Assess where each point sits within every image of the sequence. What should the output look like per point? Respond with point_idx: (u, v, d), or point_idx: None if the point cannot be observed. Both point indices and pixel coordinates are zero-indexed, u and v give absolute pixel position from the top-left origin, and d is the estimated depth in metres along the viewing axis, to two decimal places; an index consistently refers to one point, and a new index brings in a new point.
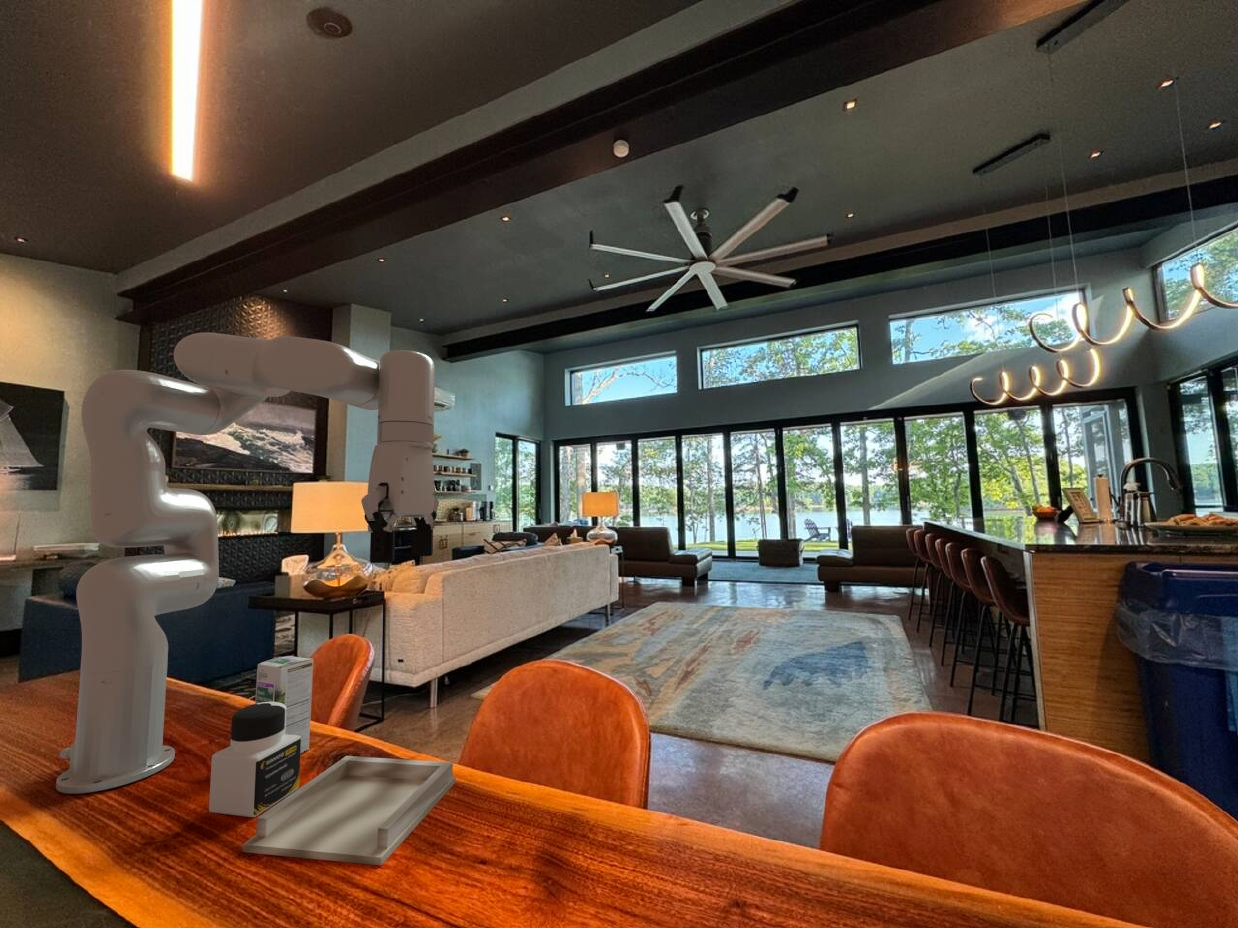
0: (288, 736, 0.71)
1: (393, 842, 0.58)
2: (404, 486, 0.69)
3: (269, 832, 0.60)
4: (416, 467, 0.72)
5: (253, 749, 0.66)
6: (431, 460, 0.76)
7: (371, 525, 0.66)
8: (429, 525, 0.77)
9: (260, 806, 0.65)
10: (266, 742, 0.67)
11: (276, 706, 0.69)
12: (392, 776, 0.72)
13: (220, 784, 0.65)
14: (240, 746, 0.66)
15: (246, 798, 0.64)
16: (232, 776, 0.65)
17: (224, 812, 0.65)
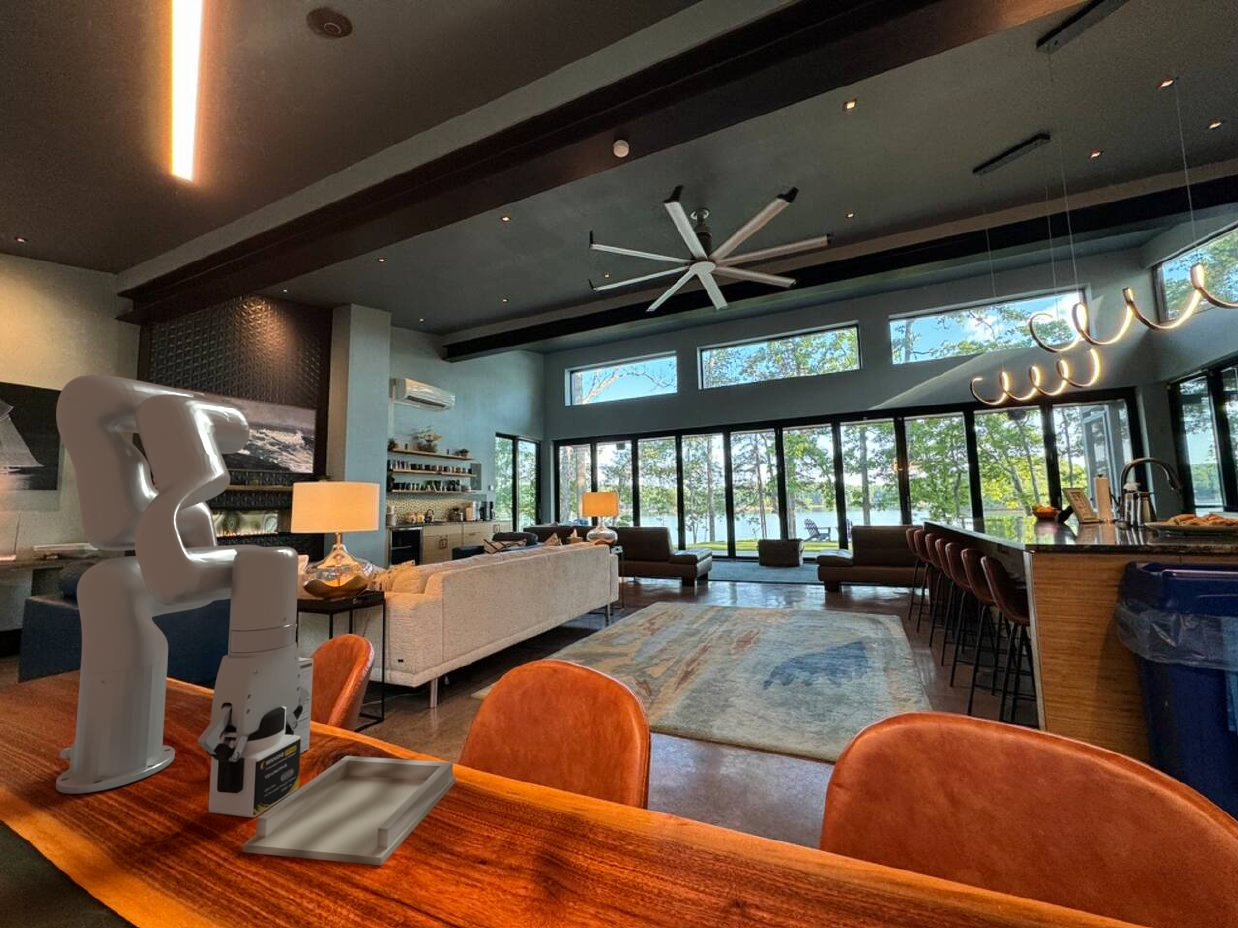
0: (288, 736, 0.71)
1: (393, 842, 0.58)
2: (251, 703, 0.65)
3: (269, 832, 0.60)
4: (269, 675, 0.68)
5: (253, 749, 0.66)
6: (295, 654, 0.73)
7: (215, 757, 0.63)
8: (289, 727, 0.73)
9: (260, 806, 0.65)
10: (266, 742, 0.67)
11: None
12: (392, 776, 0.72)
13: None
14: None
15: (246, 798, 0.64)
16: None
17: (224, 812, 0.65)
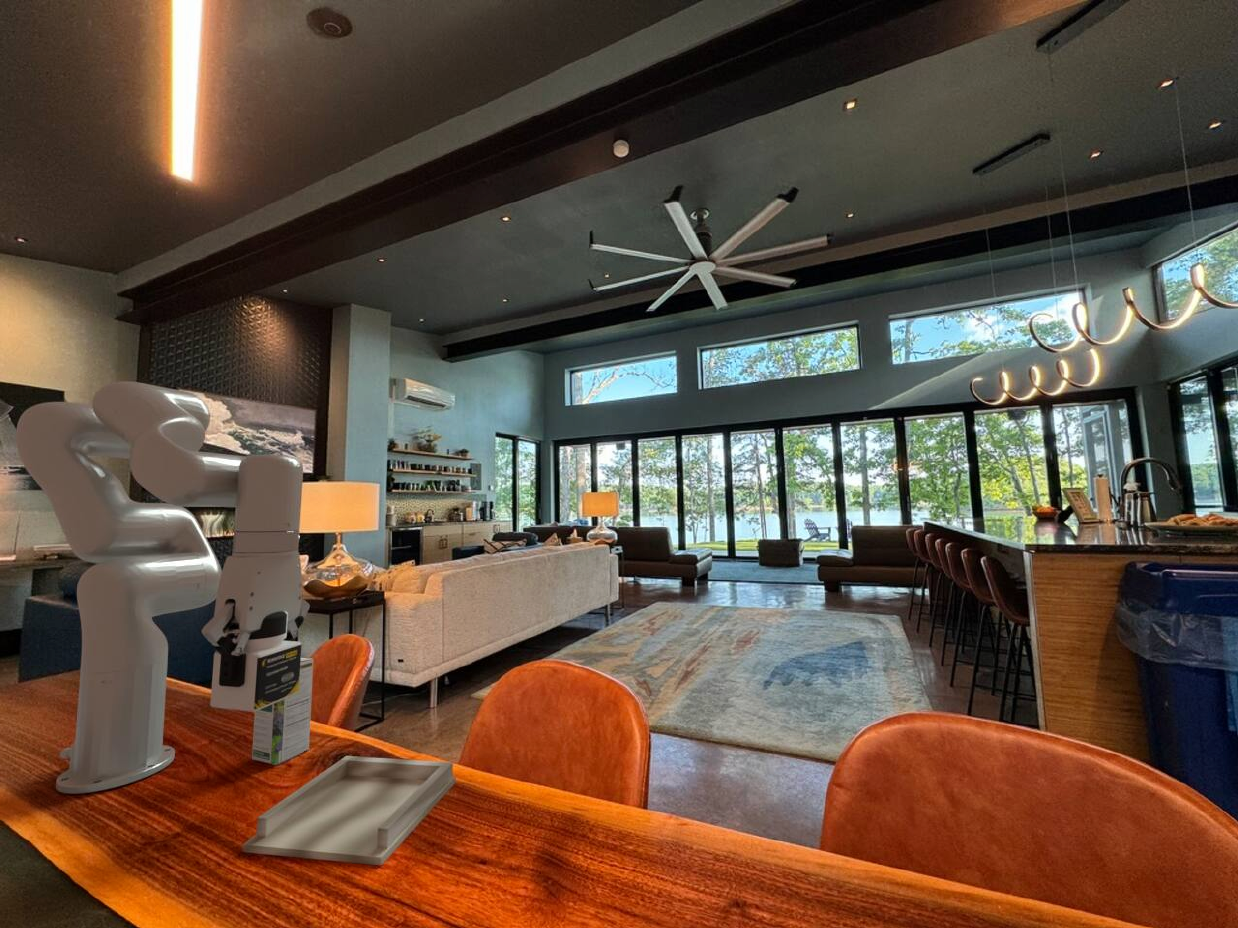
0: (289, 641, 0.72)
1: (393, 842, 0.58)
2: (254, 601, 0.67)
3: (269, 832, 0.60)
4: (272, 577, 0.69)
5: (255, 647, 0.68)
6: (297, 563, 0.74)
7: (218, 650, 0.65)
8: (290, 634, 0.74)
9: (261, 702, 0.66)
10: (268, 643, 0.69)
11: None
12: (392, 776, 0.72)
13: None
14: None
15: (247, 693, 0.66)
16: None
17: (225, 707, 0.66)
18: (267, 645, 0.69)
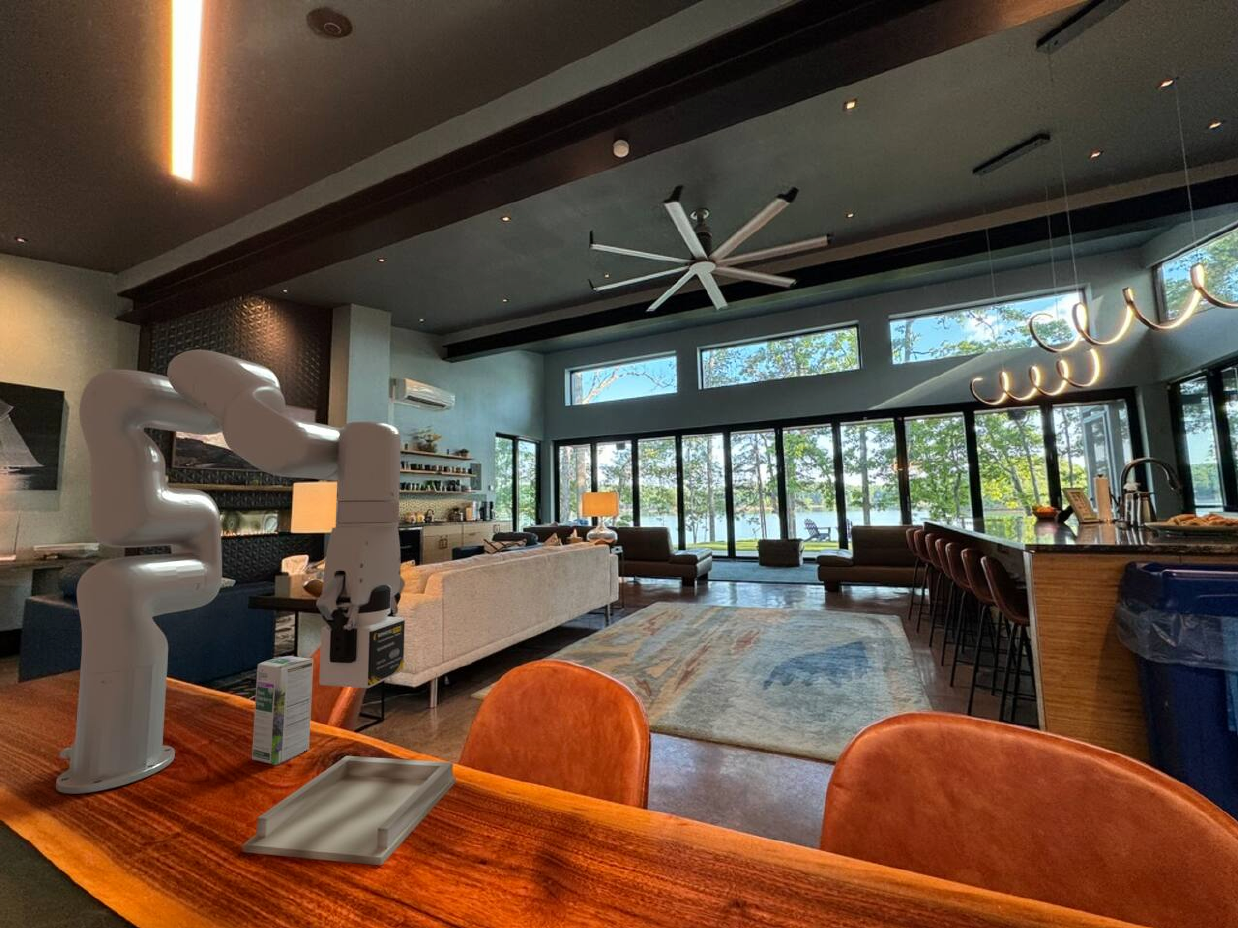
0: (392, 617, 0.69)
1: (393, 842, 0.58)
2: (363, 573, 0.64)
3: (269, 832, 0.60)
4: (378, 549, 0.66)
5: (364, 622, 0.65)
6: (396, 536, 0.71)
7: (330, 624, 0.61)
8: (391, 611, 0.71)
9: (373, 678, 0.63)
10: (375, 617, 0.65)
11: None
12: (392, 776, 0.72)
13: None
14: None
15: (360, 668, 0.63)
16: None
17: (336, 684, 0.63)
18: (375, 619, 0.65)
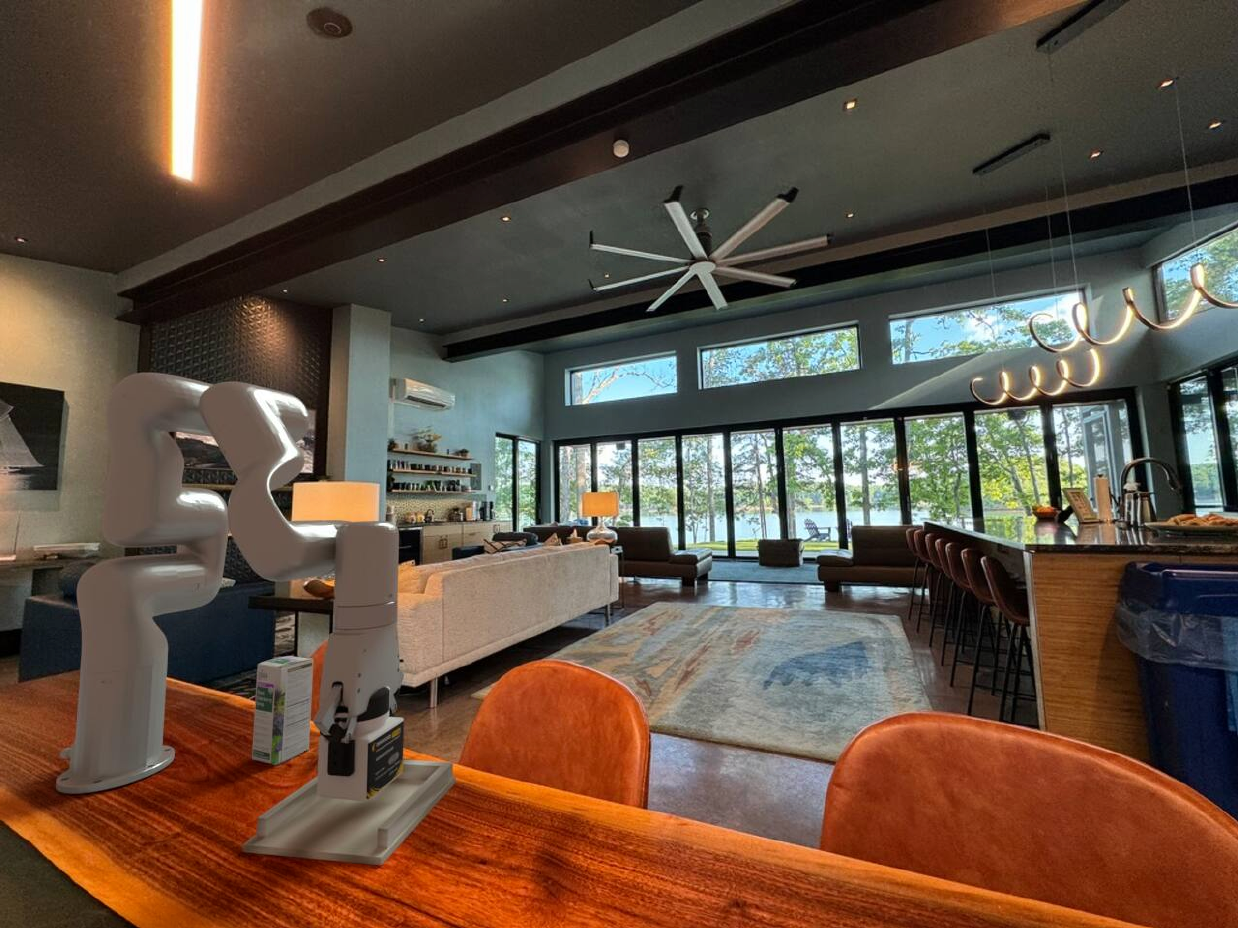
0: (391, 718, 0.68)
1: (393, 842, 0.58)
2: (361, 682, 0.62)
3: (269, 832, 0.60)
4: (376, 653, 0.65)
5: (362, 730, 0.63)
6: (395, 633, 0.70)
7: (327, 738, 0.60)
8: (390, 710, 0.69)
9: (372, 790, 0.62)
10: (374, 724, 0.64)
11: None
12: None
13: None
14: None
15: (358, 781, 0.61)
16: None
17: (334, 796, 0.62)
18: (373, 726, 0.64)
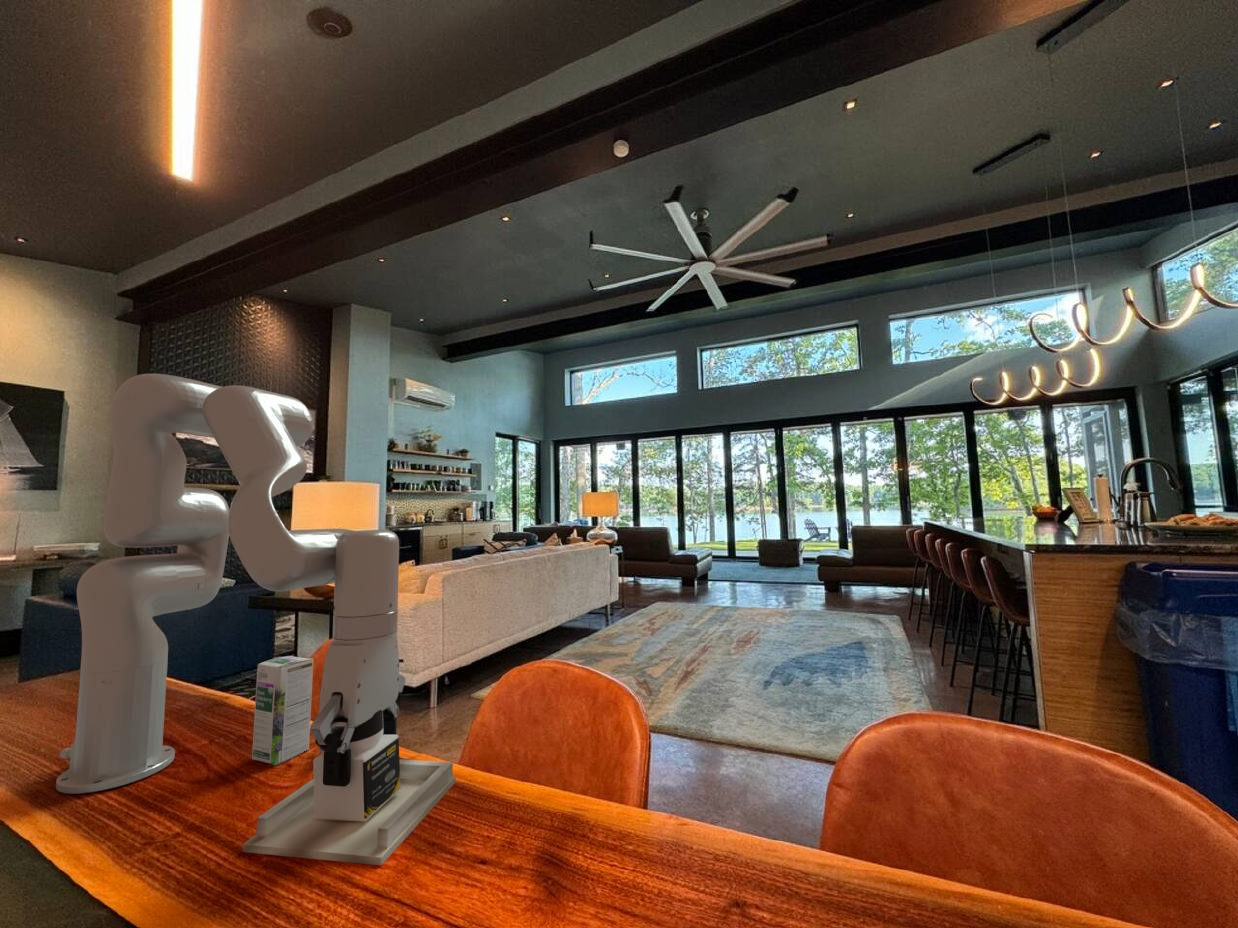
0: (386, 736, 0.68)
1: (393, 842, 0.58)
2: (361, 693, 0.62)
3: (269, 832, 0.60)
4: (376, 663, 0.65)
5: (356, 750, 0.63)
6: (395, 643, 0.69)
7: (323, 748, 0.59)
8: (392, 714, 0.70)
9: (370, 809, 0.62)
10: (368, 742, 0.64)
11: None
12: None
13: (325, 789, 0.62)
14: None
15: (355, 801, 0.61)
16: None
17: (331, 818, 0.62)
18: (368, 745, 0.64)
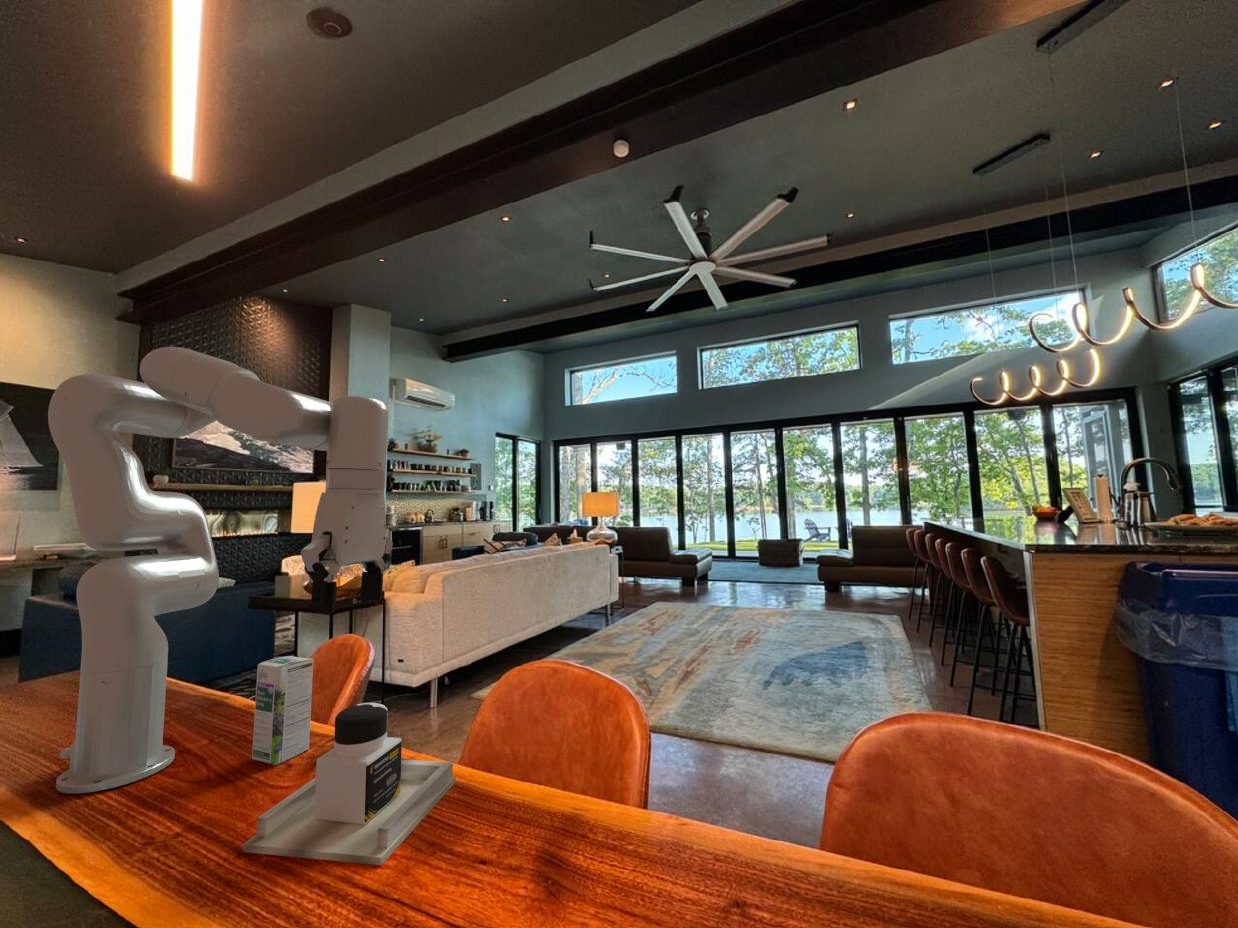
0: (389, 739, 0.68)
1: (393, 842, 0.58)
2: (348, 535, 0.69)
3: (269, 832, 0.60)
4: (363, 514, 0.72)
5: (360, 752, 0.63)
6: (382, 504, 0.76)
7: (311, 575, 0.66)
8: (379, 569, 0.77)
9: (370, 813, 0.62)
10: (372, 745, 0.64)
11: (378, 707, 0.66)
12: None
13: (327, 790, 0.62)
14: (347, 749, 0.63)
15: (356, 804, 0.61)
16: (340, 781, 0.62)
17: (332, 819, 0.62)
18: (371, 748, 0.64)
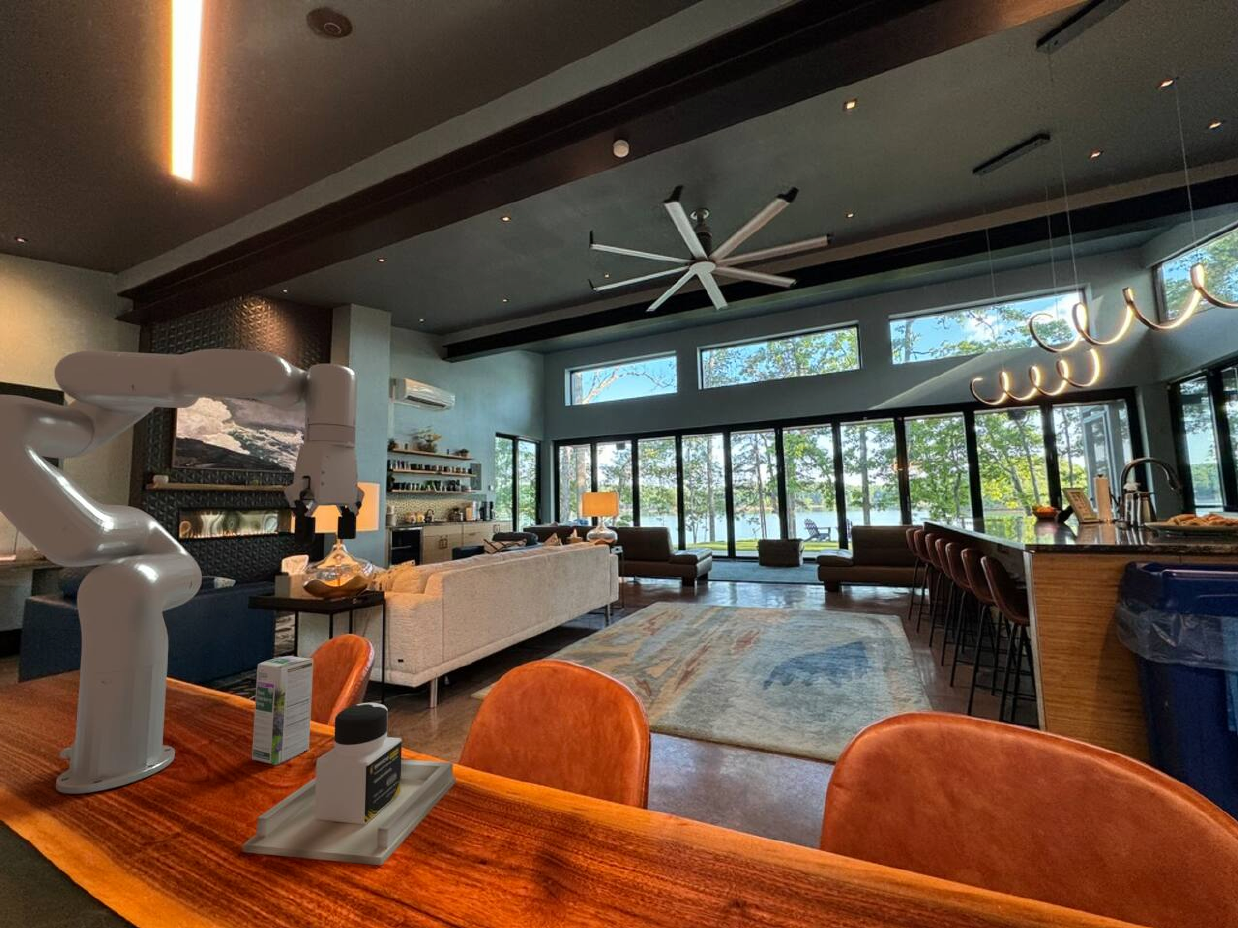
0: (389, 739, 0.68)
1: (393, 842, 0.58)
2: (324, 478, 0.82)
3: (269, 832, 0.60)
4: (337, 462, 0.85)
5: (360, 752, 0.63)
6: (354, 457, 0.89)
7: (294, 511, 0.79)
8: (353, 513, 0.90)
9: (370, 813, 0.62)
10: (372, 745, 0.64)
11: (378, 707, 0.66)
12: None
13: (327, 790, 0.62)
14: (347, 749, 0.63)
15: (356, 804, 0.61)
16: (340, 781, 0.62)
17: (332, 819, 0.62)
18: (371, 748, 0.64)
